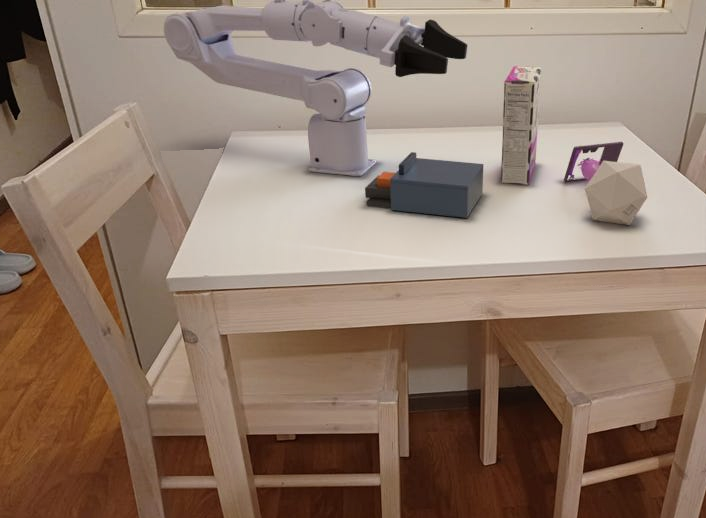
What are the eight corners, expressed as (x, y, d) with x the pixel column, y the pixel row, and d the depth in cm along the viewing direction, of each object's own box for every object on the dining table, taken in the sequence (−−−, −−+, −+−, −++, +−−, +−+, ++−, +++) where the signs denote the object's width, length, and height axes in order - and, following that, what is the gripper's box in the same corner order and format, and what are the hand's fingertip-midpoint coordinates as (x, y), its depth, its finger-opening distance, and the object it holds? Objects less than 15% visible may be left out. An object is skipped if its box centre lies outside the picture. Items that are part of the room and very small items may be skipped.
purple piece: (620, 138, 117) (571, 144, 114) (635, 158, 114) (585, 163, 112) (608, 172, 122) (561, 178, 120) (622, 192, 119) (574, 198, 117)
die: (613, 240, 101) (663, 183, 97) (565, 199, 102) (613, 141, 98) (618, 239, 109) (665, 186, 105) (574, 201, 110) (619, 147, 106)
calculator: (362, 206, 109) (361, 190, 108) (381, 187, 116) (380, 172, 115) (462, 217, 106) (463, 200, 105) (475, 197, 113) (476, 181, 112)
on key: (377, 187, 110) (376, 178, 109) (383, 181, 113) (383, 171, 112) (397, 189, 109) (396, 180, 108) (403, 183, 112) (403, 173, 111)
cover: (391, 210, 107) (389, 168, 104) (411, 186, 116) (410, 147, 112) (467, 218, 105) (468, 175, 101) (482, 193, 113) (483, 154, 110)
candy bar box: (507, 163, 127) (512, 65, 118) (535, 165, 127) (543, 66, 118) (498, 184, 118) (503, 79, 109) (528, 186, 117) (536, 81, 108)
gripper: (353, 21, 103) (440, 44, 100) (398, -2, 113) (477, 18, 110) (352, 70, 108) (435, 94, 105) (395, 44, 118) (471, 65, 115)
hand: (456, 58), depth 108 cm, fingers open, 7 cm apart
